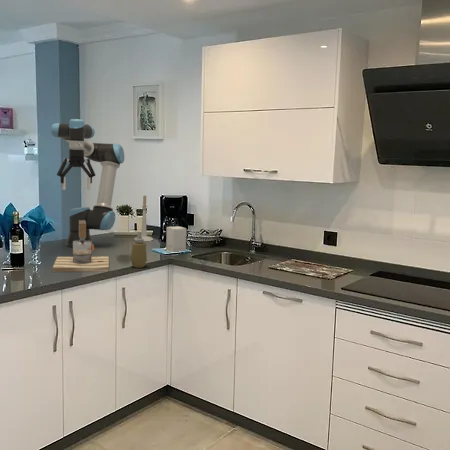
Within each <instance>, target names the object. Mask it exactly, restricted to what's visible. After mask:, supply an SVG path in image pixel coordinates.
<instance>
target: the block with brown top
mask: <svg viewBox="0 0 450 450" xmlns="http://www.w3.org/2000/svg"><path fill="white" fill-rule="evenodd" d="M79 238H80V240H76V241H73V247H72V255H73V254H74V255H89V254H91V255H92V251H95V244H94V243H93V241H92V242H91V241H88V240H85V238H86V221H85V220H79Z"/></svg>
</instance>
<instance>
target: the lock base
mask: <svg viewBox="0 0 450 450" xmlns="http://www.w3.org/2000/svg"><path fill="white" fill-rule="evenodd" d="M109 259H110V258H109V256H104V255H103V256H102V255H101V256H99V255H97V256H92V253H91V254H89V255H74V254H73V253H72V256H57V257H56V259H55V261H54V264H53V266H52V273H59V272H60V273H73V272H75V273H77V272H78V273H84V272H86V273H87V272H101V273H102V272H107V273H108V272H110V271H109V268H110V265H109V261H110V260H109Z"/></svg>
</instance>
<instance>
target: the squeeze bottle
mask: <svg viewBox="0 0 450 450" xmlns="http://www.w3.org/2000/svg"><path fill="white" fill-rule="evenodd" d="M136 237H137V238H136ZM136 237H135V238H136V239H135V241H134V242H133V243H132V246H131V253H130V255H131V256H130V261H131V265H132V267H133V268H145V267H146V263H147V261H148V259H147V245H146V242H144V239H142V237H141V231H138V232H137V236H136Z"/></svg>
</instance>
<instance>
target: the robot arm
mask: <svg viewBox="0 0 450 450" xmlns="http://www.w3.org/2000/svg"><path fill="white" fill-rule="evenodd" d="M50 131H51V134H52V136H53V137H54V138H61V139H62V140H63V141H65V142H67V143H68V147H69V150H68V154H69V155H68V158H67V157H63V158H62V163H61V165H60V167H59V168H58V171H57V173H56V176H58V177H59V178H60V184H61V186H62V187H61V189H62V191H66V182H67V181H66V179H67V178H66V177H65V176H66V175H67V174H68V173H69V172H70V170H71V169H72V168H81V169H82V171H83V172H84V173H85V174H86V175H87V178H86V189H87V190H89V191H90V190H91V184H92V183H93V178H94V177H96V173H95V170H94V169H93V166H92V164H91V161H92V162H95V163H100V165H101V173H100V181H99V186H98V194H97V199H96V204H94V205H93V208H92V209H90V206H84V207H80V206H79V207H74V208H71V209H70V210H69V216H68V217H69V218H68V219H69V232H68V236H67V240H66V243H65V244H66V246H67V247H69V248H73V241H76V240H80V238H79V220H85V221H86V238H85V240H88V241H91V242H92V243H93V238H92V237H91V236H92V235H91V233H90V230H95V231H96V230H98V231H110V230H111V229H112V228H113V227H114V225H115V222H116V213H115V211H114V209H113V207H112V202H113V201H112V200H113V194H114V189H115V181H116V177H117V169H119V168H120V166H121V164H123V163H124V161H125V151H124V147H123V146H122V145H121V144H119V143H117V144H116V143H103V142H102V143H100V142H99V143H98V142H92V141H90V140H89V139H92V138H93V137H94V136H95V133H96V132H95V131H96V130H95V128H94V126H92V125H90V124H85V121H84V119H78V118H71V119H70V120H69V123H61V122H60V123H53V124H52V126H51V129H50ZM86 139H87V140H86ZM68 162H69V163H68ZM67 163H68V165H67ZM84 163H85V164H86V165H85V164H84ZM66 165H67V166H66ZM86 166H87V167H86ZM65 167H66V168H65Z"/></svg>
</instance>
